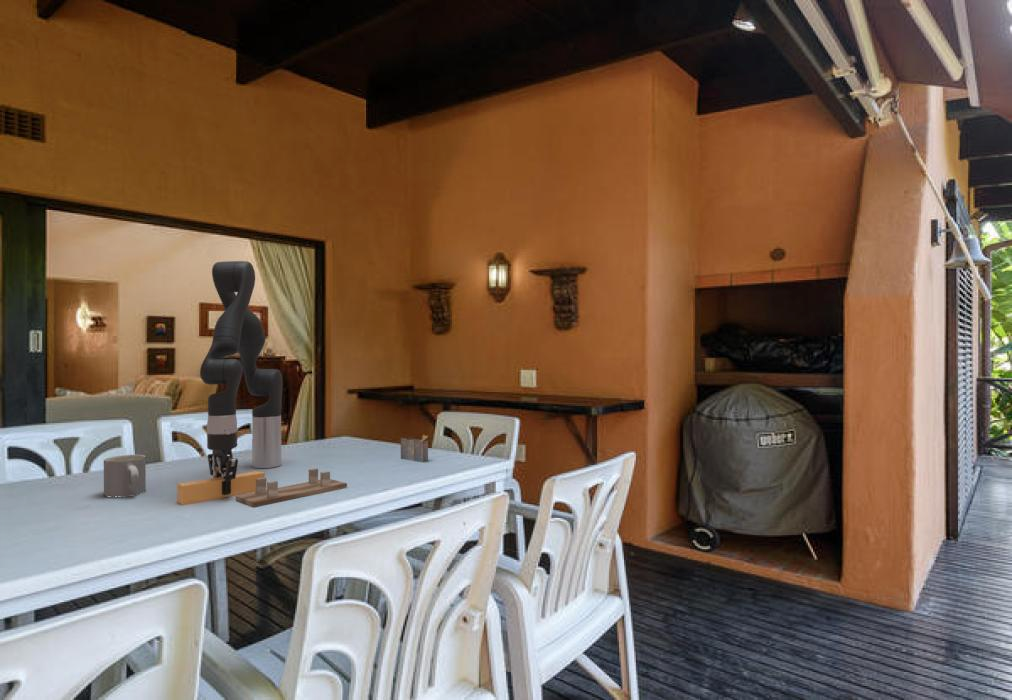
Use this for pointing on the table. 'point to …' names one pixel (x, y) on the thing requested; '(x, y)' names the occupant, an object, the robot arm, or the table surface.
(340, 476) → the table surface
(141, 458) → the coffee mug
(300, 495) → the brown wooden bar holder
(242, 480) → the orange wooden bar
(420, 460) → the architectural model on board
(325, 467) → the table surface
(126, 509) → the table surface
